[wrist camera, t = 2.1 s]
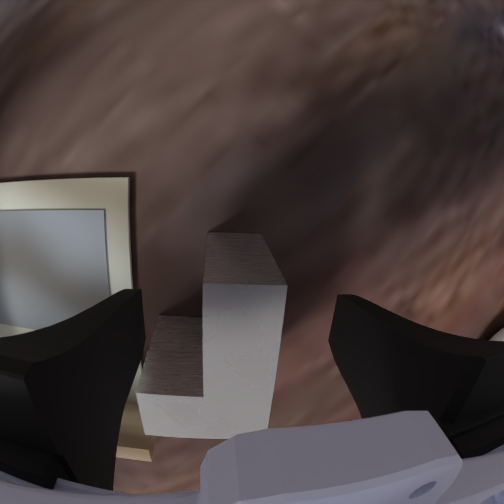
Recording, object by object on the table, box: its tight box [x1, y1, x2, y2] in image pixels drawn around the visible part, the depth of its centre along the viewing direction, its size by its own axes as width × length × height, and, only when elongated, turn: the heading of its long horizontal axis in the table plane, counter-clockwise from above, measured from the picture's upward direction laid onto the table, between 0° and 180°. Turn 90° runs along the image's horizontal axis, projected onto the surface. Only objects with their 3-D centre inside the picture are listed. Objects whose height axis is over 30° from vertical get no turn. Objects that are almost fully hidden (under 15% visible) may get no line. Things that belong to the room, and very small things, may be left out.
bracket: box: [136, 232, 288, 439], centre depth 13 cm, size 7×5×6 cm
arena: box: [0, 177, 155, 462], centre depth 13 cm, size 15×13×4 cm
